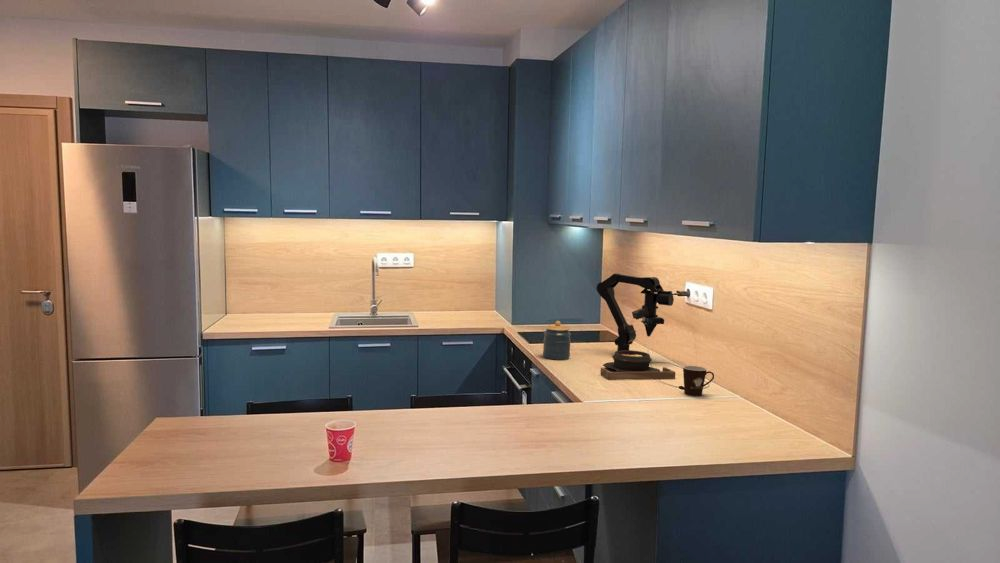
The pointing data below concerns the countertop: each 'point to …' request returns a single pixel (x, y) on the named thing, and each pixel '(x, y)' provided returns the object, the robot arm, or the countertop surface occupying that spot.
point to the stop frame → (639, 374)
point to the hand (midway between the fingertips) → (648, 336)
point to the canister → (557, 342)
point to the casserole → (631, 361)
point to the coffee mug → (694, 380)
